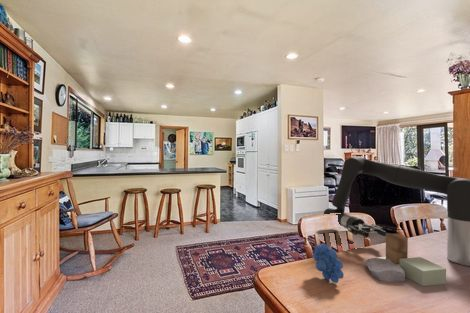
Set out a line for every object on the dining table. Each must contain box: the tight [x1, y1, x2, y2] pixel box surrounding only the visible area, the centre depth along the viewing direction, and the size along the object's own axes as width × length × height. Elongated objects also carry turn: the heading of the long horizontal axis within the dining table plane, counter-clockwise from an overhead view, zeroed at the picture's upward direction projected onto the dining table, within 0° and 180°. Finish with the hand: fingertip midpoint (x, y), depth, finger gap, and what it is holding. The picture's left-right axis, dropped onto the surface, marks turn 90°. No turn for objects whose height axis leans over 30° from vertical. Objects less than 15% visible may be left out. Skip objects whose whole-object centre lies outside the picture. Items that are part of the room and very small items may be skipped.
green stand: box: [400, 256, 447, 287], centre depth 82 cm, size 9×9×5 cm
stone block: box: [365, 257, 406, 283], centre depth 86 cm, size 12×5×10 cm
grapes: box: [312, 243, 344, 284], centre depth 80 cm, size 12×7×12 cm, turn 33°
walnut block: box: [385, 233, 409, 265], centre depth 92 cm, size 5×5×10 cm
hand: (376, 234), depth 102 cm, fingers open, 8 cm apart
